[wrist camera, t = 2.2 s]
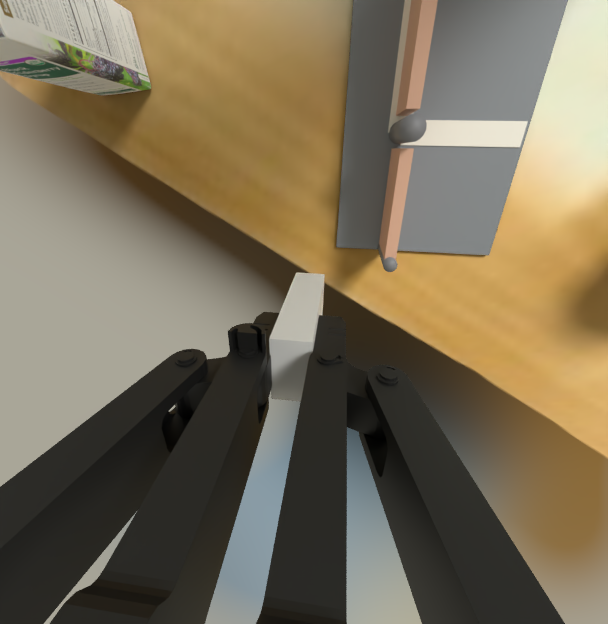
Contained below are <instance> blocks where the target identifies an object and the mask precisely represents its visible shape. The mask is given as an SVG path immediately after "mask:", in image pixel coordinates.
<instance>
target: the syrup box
mask: <svg viewBox="0 0 608 624" xmlns="http://www.w3.org/2000/svg"><path fill="white" fill-rule="evenodd" d="M0 71H3V72H7V73H11V74H15V75H19V76H23V77H27V78H31V79H35V80H39V81H43V82H47V83H51V84H55V85H59V86H63V87H67V88H71V89H75V90H79V91H84V92H88V93H93V94H97V95H112V94H122V93H129V92H136V91H142V90H149V89H151V84H150V80H149V76H148V72H147V69H146V65H145V61H144V57H143V54H142V50H141V46H140V42H139V39H138V35H137V32H136V28H135V24H134V21H133V17H132V13H131V12H130V11H129V10H127V9H126V8H124V7H123V6H121V5H120V4H118V3H116V2H115V1H113V0H0Z"/></svg>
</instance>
